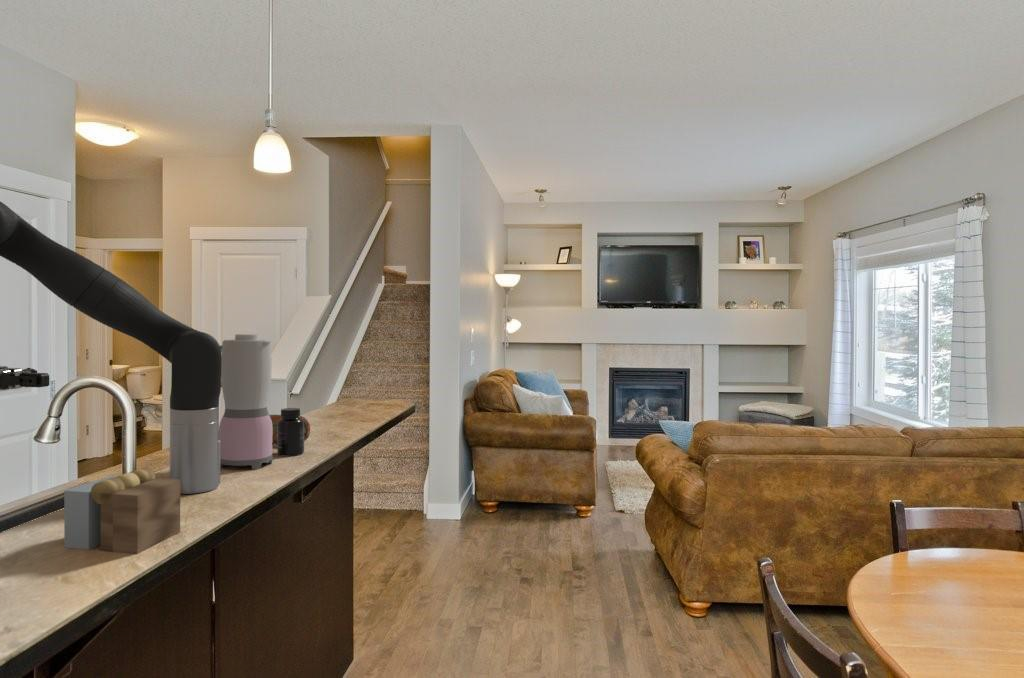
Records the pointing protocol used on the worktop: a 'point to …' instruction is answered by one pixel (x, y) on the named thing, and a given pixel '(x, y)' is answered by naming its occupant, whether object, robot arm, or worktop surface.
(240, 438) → the blender
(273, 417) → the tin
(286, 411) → the supplement bottle
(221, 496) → the worktop surface
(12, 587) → the worktop surface
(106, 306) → the robot arm
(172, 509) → the fixed leaf
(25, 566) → the worktop surface
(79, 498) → the grey block
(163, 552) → the worktop surface
